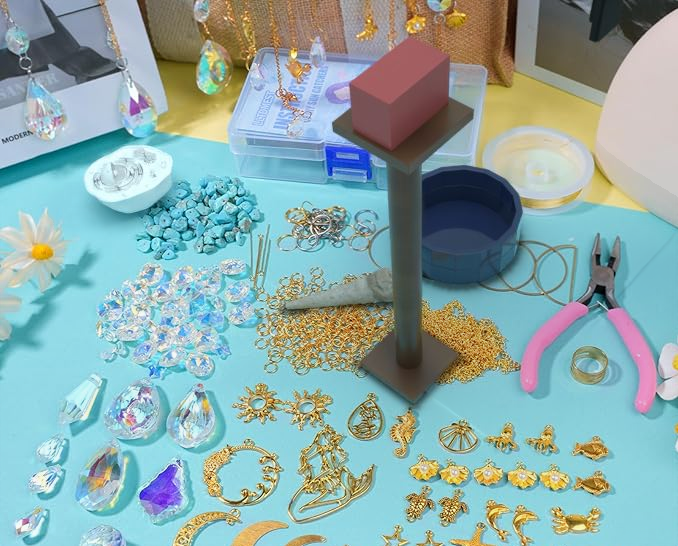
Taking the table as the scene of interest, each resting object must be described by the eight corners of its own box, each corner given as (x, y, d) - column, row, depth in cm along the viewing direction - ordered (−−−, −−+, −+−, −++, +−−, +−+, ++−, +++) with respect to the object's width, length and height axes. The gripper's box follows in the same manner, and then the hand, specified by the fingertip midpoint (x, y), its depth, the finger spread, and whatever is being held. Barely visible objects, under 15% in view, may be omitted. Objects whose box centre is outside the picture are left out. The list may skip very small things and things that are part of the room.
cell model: (186, 213, 111) (173, 177, 106) (98, 234, 111) (80, 198, 105) (177, 163, 117) (164, 126, 112) (93, 182, 116) (76, 145, 111)
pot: (449, 182, 111) (450, 148, 106) (540, 233, 104) (546, 200, 99) (377, 247, 105) (374, 215, 100) (469, 306, 99) (471, 274, 94)
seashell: (417, 302, 100) (416, 286, 96) (290, 328, 100) (283, 313, 96) (410, 272, 102) (408, 254, 98) (285, 298, 102) (278, 281, 98)
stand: (405, 322, 98) (396, 70, 69) (458, 358, 95) (474, 109, 65) (360, 366, 95) (331, 122, 66) (413, 405, 92) (408, 165, 62)
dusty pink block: (410, 83, 68) (409, 35, 64) (449, 102, 66) (450, 54, 62) (352, 129, 65) (348, 82, 61) (391, 151, 63) (389, 104, 60)
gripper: (899, -176, 47) (790, 74, 61) (630, -242, 55) (588, -6, 69) (839, -119, 44) (739, 129, 58) (564, -197, 52) (535, 39, 66)
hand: (658, 56), depth 63 cm, fingers open, 9 cm apart
